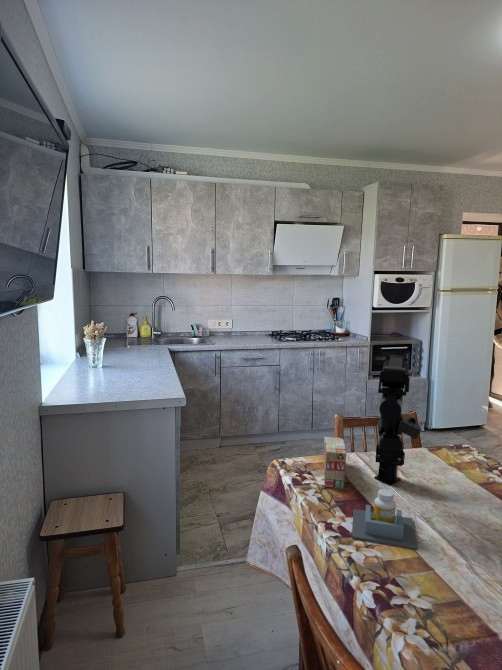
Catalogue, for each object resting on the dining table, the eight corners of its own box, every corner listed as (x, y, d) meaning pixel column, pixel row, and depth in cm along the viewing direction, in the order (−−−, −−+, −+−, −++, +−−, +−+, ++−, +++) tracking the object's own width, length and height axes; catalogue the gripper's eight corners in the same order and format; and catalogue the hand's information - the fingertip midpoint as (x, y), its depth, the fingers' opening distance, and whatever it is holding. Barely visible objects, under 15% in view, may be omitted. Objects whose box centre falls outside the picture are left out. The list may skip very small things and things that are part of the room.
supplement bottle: (372, 519, 121) (375, 486, 120) (393, 522, 120) (395, 489, 118) (373, 530, 116) (375, 495, 115) (394, 533, 115) (397, 498, 113)
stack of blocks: (322, 460, 161) (324, 428, 160) (340, 462, 161) (341, 429, 159) (324, 487, 140) (326, 451, 139) (344, 489, 140) (346, 452, 138)
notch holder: (353, 510, 126) (354, 497, 126) (412, 520, 122) (413, 506, 122) (351, 538, 113) (352, 523, 112) (417, 549, 109) (418, 534, 108)
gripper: (424, 423, 117) (419, 478, 119) (417, 404, 135) (413, 452, 137) (381, 418, 120) (377, 472, 122) (379, 400, 138) (376, 448, 140)
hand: (387, 461), depth 130 cm, fingers open, 9 cm apart
